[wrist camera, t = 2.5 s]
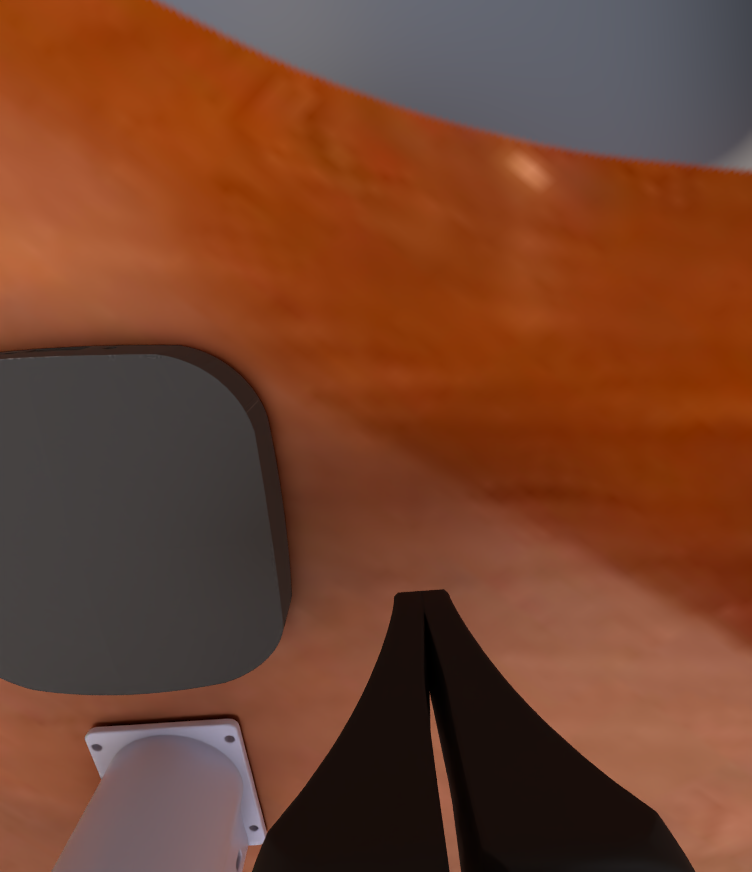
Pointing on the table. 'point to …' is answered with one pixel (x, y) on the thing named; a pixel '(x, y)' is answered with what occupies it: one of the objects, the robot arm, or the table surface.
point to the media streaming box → (136, 521)
